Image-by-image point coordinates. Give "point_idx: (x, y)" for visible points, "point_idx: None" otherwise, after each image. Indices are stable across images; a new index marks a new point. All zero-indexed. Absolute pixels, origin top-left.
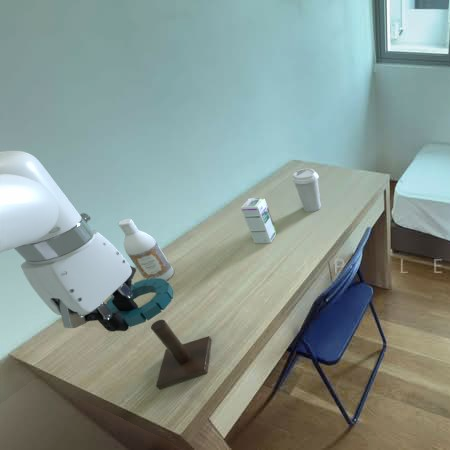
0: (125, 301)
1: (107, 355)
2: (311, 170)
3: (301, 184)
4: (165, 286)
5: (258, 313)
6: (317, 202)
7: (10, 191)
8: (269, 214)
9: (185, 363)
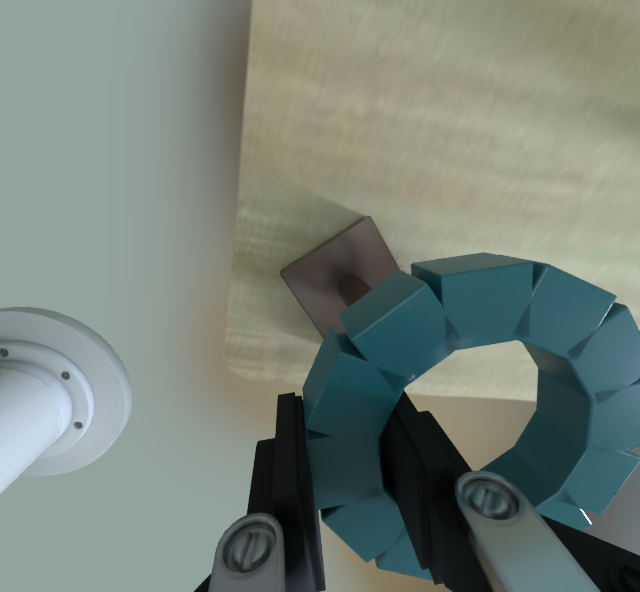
0: (431, 554)
1: (337, 27)
2: None
3: None
4: (573, 524)
5: (490, 360)
6: None
7: None
8: None
9: (341, 300)
